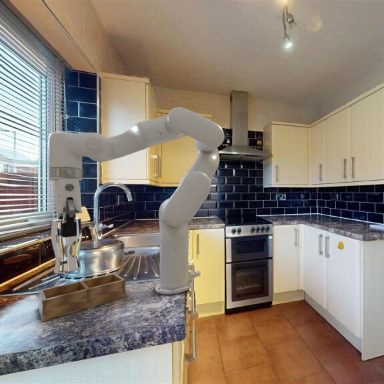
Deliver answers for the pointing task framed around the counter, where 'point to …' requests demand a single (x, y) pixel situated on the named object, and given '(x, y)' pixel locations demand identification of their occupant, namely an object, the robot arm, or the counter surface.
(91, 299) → the holder
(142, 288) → the counter surface
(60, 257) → the beer glass
